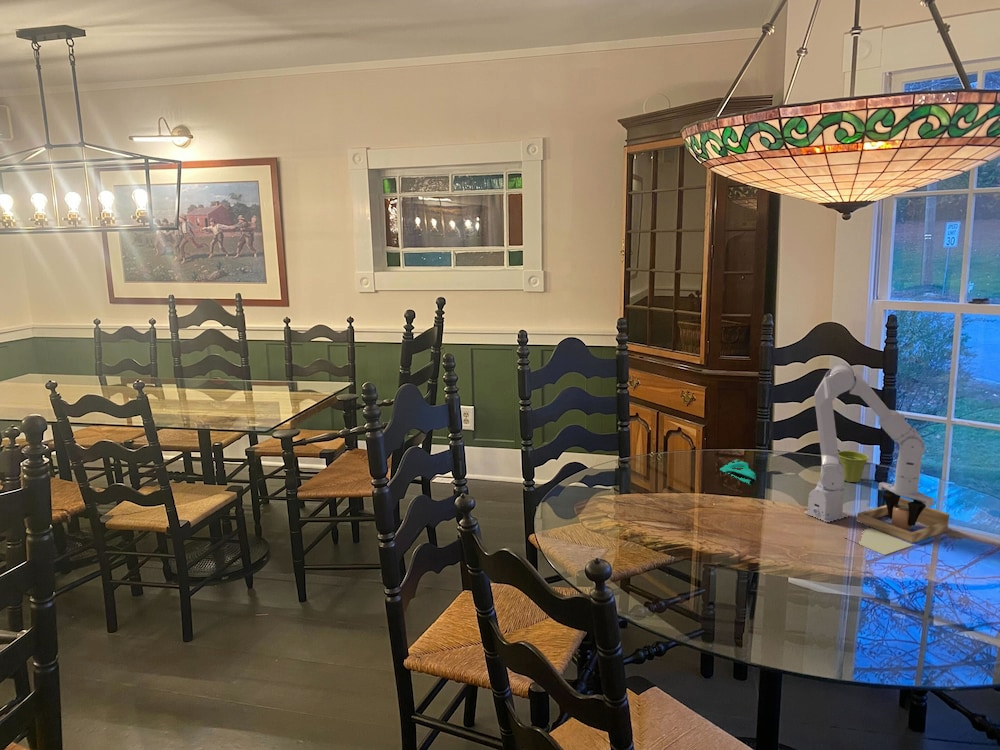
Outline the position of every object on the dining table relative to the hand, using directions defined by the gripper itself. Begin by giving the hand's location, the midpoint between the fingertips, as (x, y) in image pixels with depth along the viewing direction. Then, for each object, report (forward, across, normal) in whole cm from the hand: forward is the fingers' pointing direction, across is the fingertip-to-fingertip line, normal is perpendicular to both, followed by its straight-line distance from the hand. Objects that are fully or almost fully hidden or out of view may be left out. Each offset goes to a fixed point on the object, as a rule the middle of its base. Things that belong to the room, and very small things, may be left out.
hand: (901, 521), depth 194 cm
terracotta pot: (+1, 0, 0) cm, 1 cm away
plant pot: (+2, +31, -21) cm, 37 cm away
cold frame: (+1, 0, 0) cm, 1 cm away
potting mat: (+1, -3, +15) cm, 15 cm away
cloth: (+2, +55, +5) cm, 55 cm away
